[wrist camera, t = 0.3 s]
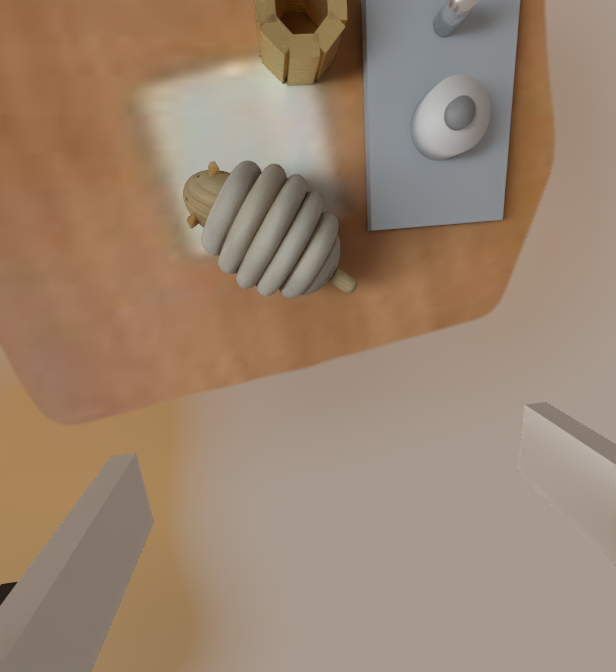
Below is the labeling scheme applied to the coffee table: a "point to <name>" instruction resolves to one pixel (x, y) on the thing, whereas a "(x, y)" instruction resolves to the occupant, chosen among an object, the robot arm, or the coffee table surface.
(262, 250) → the toy sheep
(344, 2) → the gold octagonal ring
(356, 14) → the coffee table surface
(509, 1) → the carrier plate
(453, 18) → the pin
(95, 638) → the robot arm
